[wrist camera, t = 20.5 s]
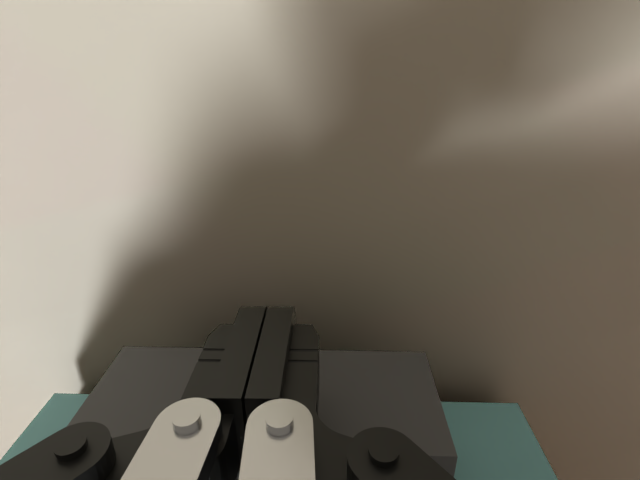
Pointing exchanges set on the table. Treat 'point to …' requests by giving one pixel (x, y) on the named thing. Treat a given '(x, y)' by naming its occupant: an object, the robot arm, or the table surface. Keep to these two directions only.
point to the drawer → (321, 408)
